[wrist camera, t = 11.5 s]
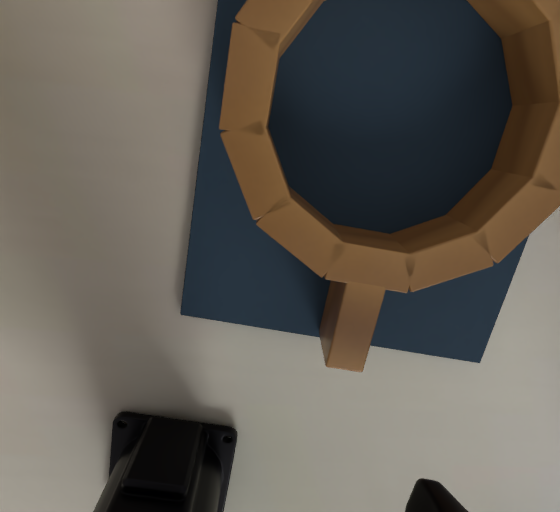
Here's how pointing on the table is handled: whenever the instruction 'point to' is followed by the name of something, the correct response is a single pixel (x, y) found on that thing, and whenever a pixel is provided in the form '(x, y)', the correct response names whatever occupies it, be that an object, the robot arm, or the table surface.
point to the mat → (359, 166)
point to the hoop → (420, 238)
